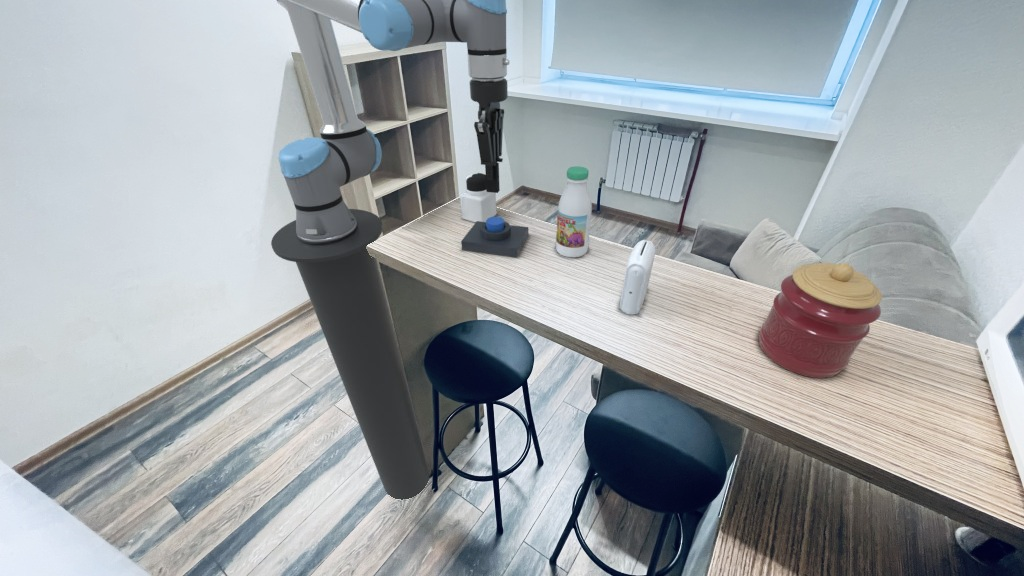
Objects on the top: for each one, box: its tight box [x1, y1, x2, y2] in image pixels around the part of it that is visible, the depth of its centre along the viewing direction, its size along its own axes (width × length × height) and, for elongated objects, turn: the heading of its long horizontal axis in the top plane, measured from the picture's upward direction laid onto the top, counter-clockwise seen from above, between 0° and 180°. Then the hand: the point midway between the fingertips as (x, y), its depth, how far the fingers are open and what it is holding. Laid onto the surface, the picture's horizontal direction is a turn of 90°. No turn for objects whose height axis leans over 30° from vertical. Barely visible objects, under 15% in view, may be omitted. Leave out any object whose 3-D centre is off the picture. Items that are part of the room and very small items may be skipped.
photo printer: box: [619, 239, 656, 315], centre depth 79 cm, size 10×4×12 cm, turn 155°
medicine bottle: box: [459, 172, 498, 223], centre depth 111 cm, size 7×7×12 cm
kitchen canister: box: [758, 262, 883, 379], centre depth 65 cm, size 13×13×18 cm
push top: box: [486, 216, 505, 232], centre depth 99 cm, size 4×4×2 cm
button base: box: [461, 220, 529, 258], centre depth 101 cm, size 14×11×4 cm
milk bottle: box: [555, 166, 593, 258], centre depth 93 cm, size 8×8×20 cm
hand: (493, 191), depth 94 cm, fingers closed
